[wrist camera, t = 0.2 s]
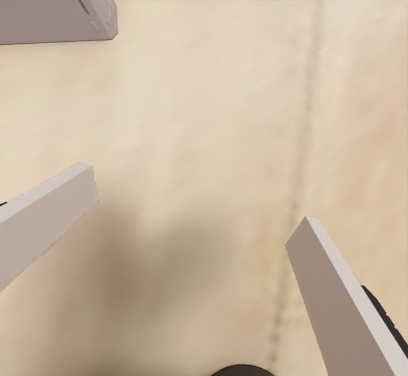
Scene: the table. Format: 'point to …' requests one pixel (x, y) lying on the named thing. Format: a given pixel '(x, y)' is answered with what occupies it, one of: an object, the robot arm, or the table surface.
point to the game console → (56, 20)
